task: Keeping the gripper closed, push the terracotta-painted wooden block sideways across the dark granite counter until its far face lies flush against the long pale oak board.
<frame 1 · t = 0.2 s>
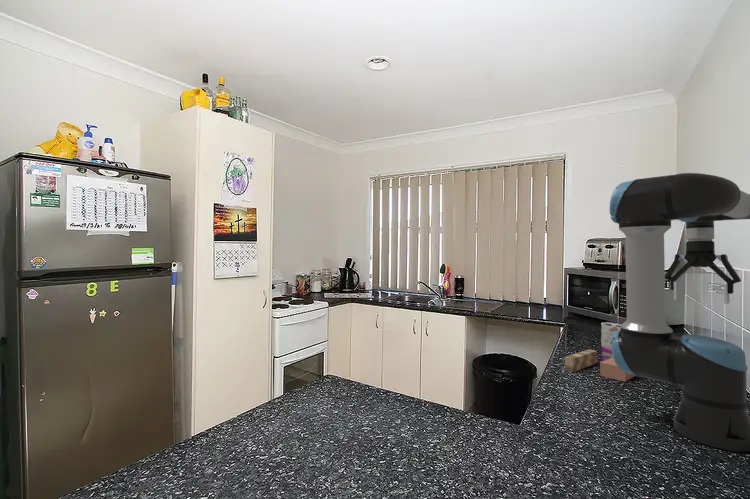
hand: (700, 301, 130), 27 cm above the countertop, tool pointing down, fingers open, 13 cm apart
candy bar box: (618, 366, 147), on the countertop
board: (581, 366, 146), on the countertop
ice cream box: (678, 376, 135), on the countertop
block: (618, 376, 136), on the countertop
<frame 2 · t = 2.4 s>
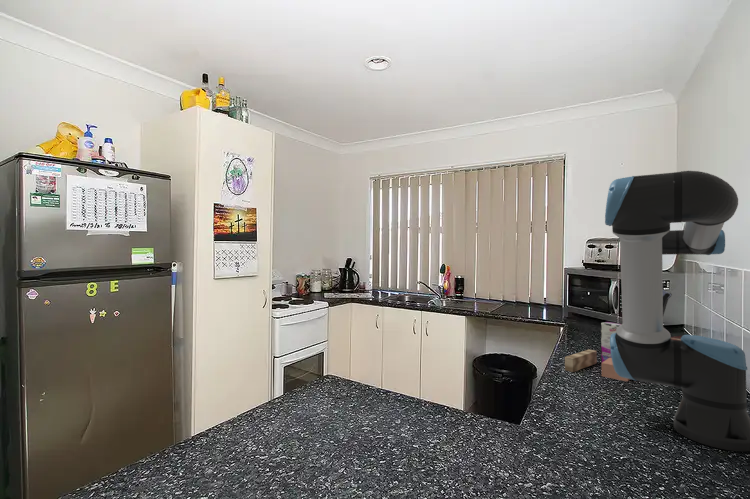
hand: (648, 339, 128), 15 cm above the countertop, tool pointing down, fingers closed
nothing on the countertop moved.
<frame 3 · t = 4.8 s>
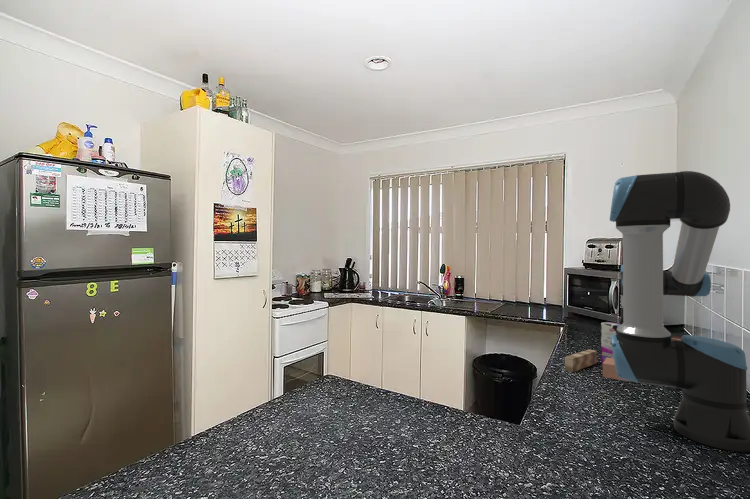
hand: (634, 374, 132), 2 cm above the countertop, tool pointing down, fingers closed
block: (617, 376, 136), on the countertop, touching gripper
everything else where it was.
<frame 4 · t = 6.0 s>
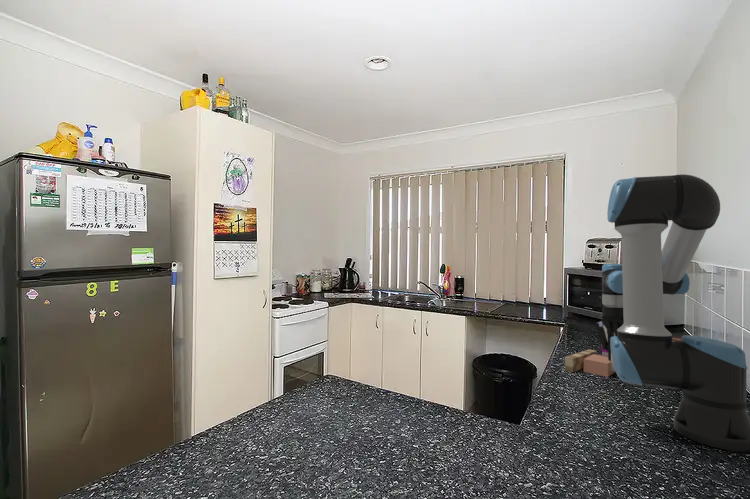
hand: (614, 370, 137), 2 cm above the countertop, tool pointing down, fingers closed
block: (600, 372, 140), on the countertop, touching gripper
everything else where it was.
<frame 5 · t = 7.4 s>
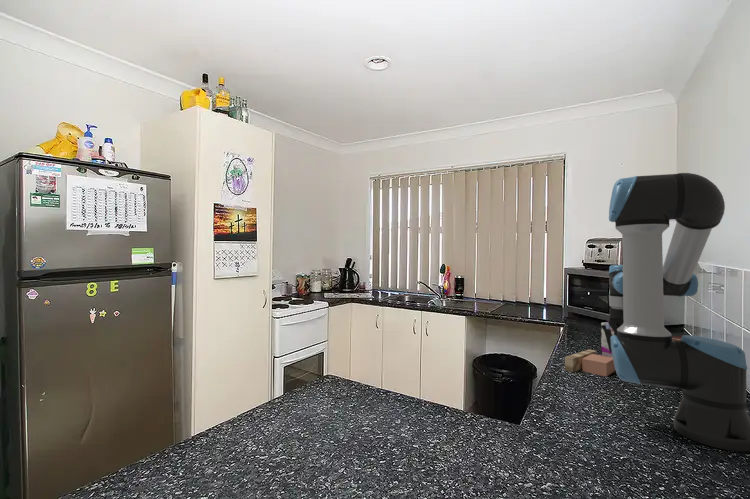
hand: (622, 373, 134), 1 cm above the countertop, tool pointing down, fingers closed
block: (599, 371, 141), on the countertop
everything else where it was.
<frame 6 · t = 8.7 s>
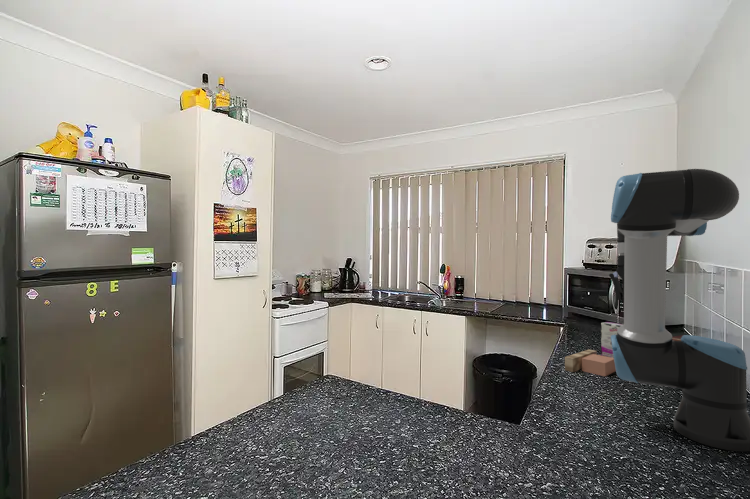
hand: (630, 321, 132), 20 cm above the countertop, tool pointing down, fingers closed
nothing on the countertop moved.
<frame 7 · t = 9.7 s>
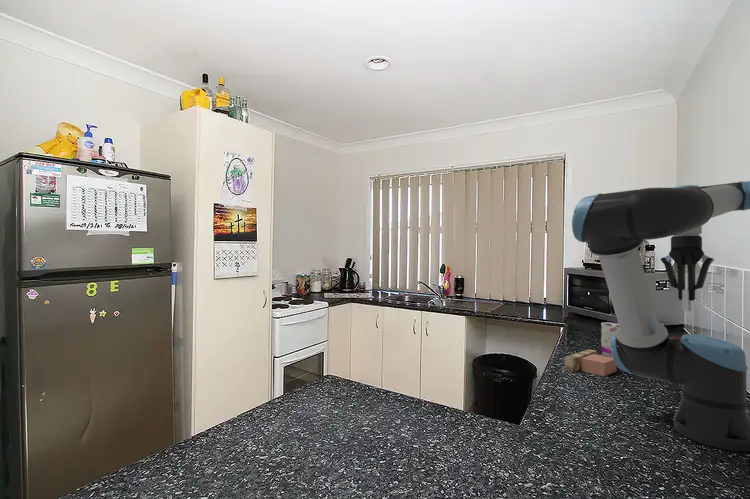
hand: (686, 310, 117), 26 cm above the countertop, tool pointing down, fingers closed
nothing on the countertop moved.
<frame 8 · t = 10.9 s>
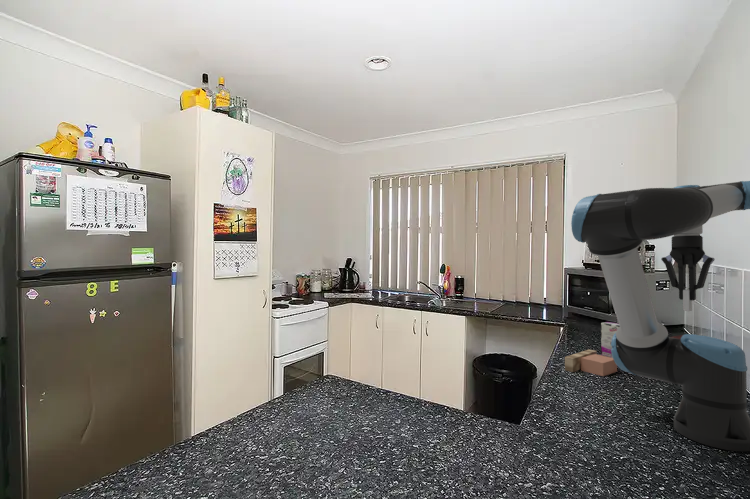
hand: (687, 310, 117), 26 cm above the countertop, tool pointing down, fingers closed
nothing on the countertop moved.
at the end: block inside the target area on the countertop beside the board (0.5 cm from its centre), on the countertop; block tilted 0° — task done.
